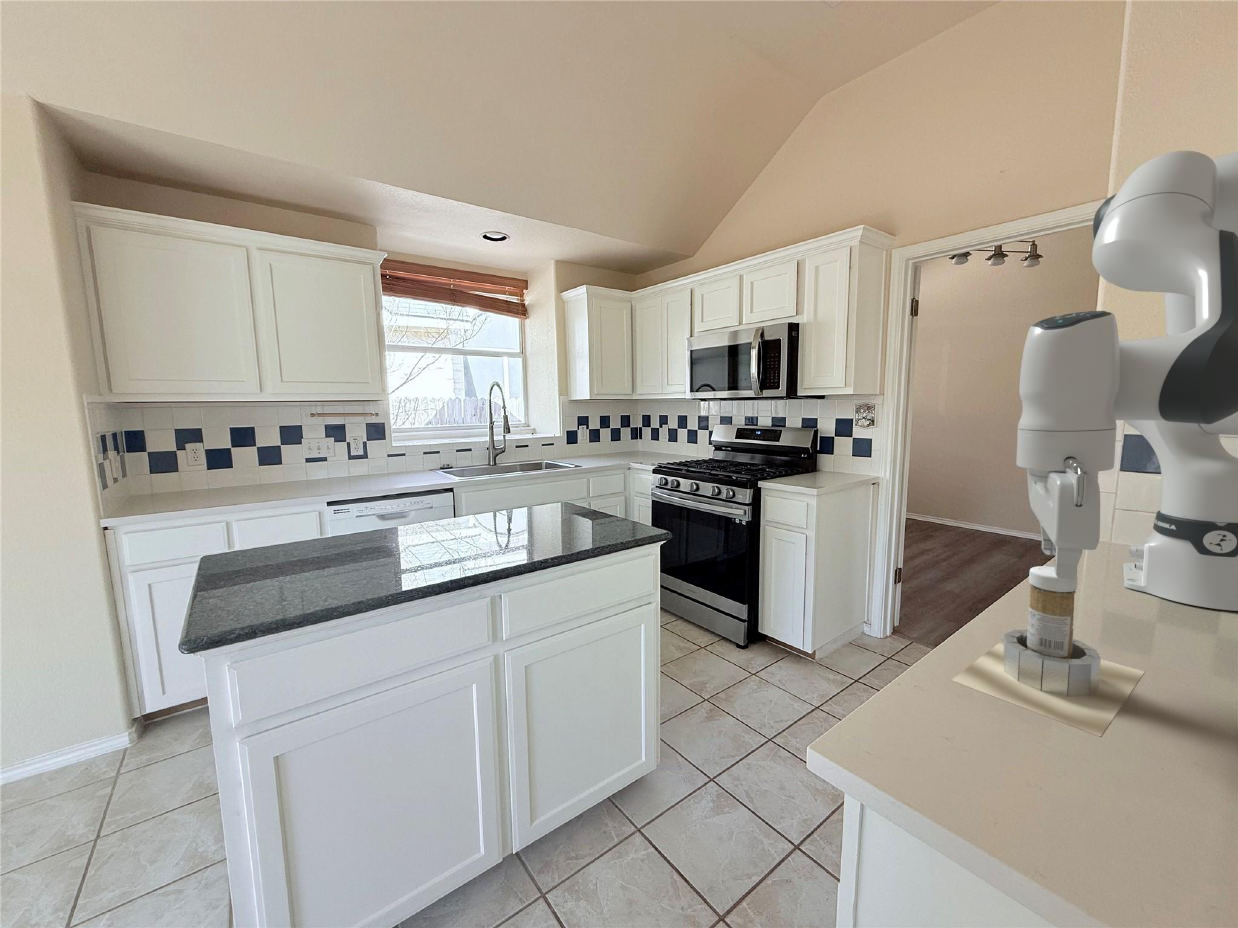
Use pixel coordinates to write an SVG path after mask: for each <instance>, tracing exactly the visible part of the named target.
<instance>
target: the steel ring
mask: <svg viewBox="0 0 1238 928" xmlns="http://www.w3.org/2000/svg"><path fill="white" fill-rule="evenodd" d="M1027 631H1028V629H1013V630H1011V631H1008V632H1006V633H1005V634H1004V635H1003V639H1004V649H1003V667H1004V671H1005V672H1006V673H1007V674H1008V675H1010V676H1011V677H1012V678H1014V679H1015V680H1016V681H1018V682H1020V683H1022V684H1025V685H1027V686H1030V687H1032V688H1035V689H1037V690H1040V691H1043V692H1048V693H1053V694H1058V695H1062V696H1068V697H1074V696H1090V695H1092V694H1093V693H1095V692H1097V691H1098V689H1099V676H1100V663H1101V659H1102V658H1101V656H1100V654H1099V653H1098V651H1097V649H1095V648H1094V647H1092V646H1090V645H1088V644H1087V643H1085V642H1083V641H1081V640H1079V639H1075V638H1073V645H1072V653H1071V659H1060V658H1055V657H1049V656H1044V655H1042V654H1039V653H1036V652H1033V651H1030V650H1028V649H1027Z"/></svg>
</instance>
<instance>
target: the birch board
mask: <svg viewBox="0 0 1238 928" xmlns="http://www.w3.org/2000/svg"><path fill="white" fill-rule="evenodd" d="M1003 649H1004V638H1003V639H1002V640H1000V642H998V643H997V644H996V645H995V646H993V647H992V648H991V649H990V650H988V651H987V652H985V653H984V654H983V655H982V656H980V657H979V658H978V659H976V660H975V661H974V662H973V663H971V664H970V665H968V666H967V667H966V668H965V669H963V670H962V671H960V673H959V674H957V675H956V676H954V677H953V678H952V679H951V680H950V681H951V682H954V683H957V684H959V685H963V686H965V687H967V688H970V689H973V690H975V691H978V692H981V693H983V694H985V695H989V696H991V697H994V698H996V699H1000V700H1002V701H1005V702H1007V703H1010V704H1013V705H1015V706H1017V707H1019V708H1022V709H1025V710H1028V711H1031V712H1033V713H1036V714H1038V715H1041V716H1043V717H1047V718H1049V719H1051V720H1054V721H1057V722H1060V723H1062V724H1065V725H1067V726H1070V727H1073V728H1076V729H1078V730H1081V731H1084V732H1086V733H1089V734H1091V735H1094V736H1097V737H1100V738H1102V736H1103V735H1104V733H1105V731H1106V730H1107V728H1108V727H1109V726H1110V725H1111V722H1112V721H1113V719H1114V718H1115V716H1117V713H1118V712H1119V711H1120V710H1121V708H1122V706H1123V705H1124V703H1125V702H1126V701H1127V699H1128V697H1129V696H1130V694H1131V693H1132V691H1134V689H1135V687H1136V686H1137V684H1138V683H1139V681H1140V680H1141V678H1142V677H1143V675H1144V674H1145V671H1143V670H1139V669H1137V668H1133V667H1130V666H1126V665H1123V664H1122V665H1121V664H1119V663H1116V662H1112V661H1109V660H1105V659H1102V658H1101V663H1100V676H1099V689H1098V691H1097V692H1095V693H1093V694H1092V695H1090V696H1074V697H1068V696H1062V695H1058V694H1053V693H1048V692H1043V691H1040V690H1037V689H1035V688H1032V687H1030V686H1027V685H1025V684H1022V683H1020V682H1018V681H1016V680H1015V679H1014V678H1012V677H1011V676H1010V675H1008V674H1007V673H1006V672H1005V671H1004V667H1003Z"/></svg>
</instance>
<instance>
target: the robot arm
mask: <svg viewBox="0 0 1238 928" xmlns="http://www.w3.org/2000/svg"><path fill="white" fill-rule="evenodd" d="M1092 237H1093V239H1094V241H1093V244H1092V245H1093V246H1092V251H1091V261H1092V265H1093V267H1094V269H1095V271H1096V272H1097V274H1098V275H1100V277H1101V278H1103V280H1105V281H1106V282H1108V283H1109V284H1111V285H1113V286H1116V287H1119V288H1122V289H1124V290H1128V291H1133V292H1142V293H1143V292H1146V293H1148V292H1150V293H1151V292H1152V293H1163V297H1164V317H1165V321H1164V322H1165V333H1166V335H1167V336H1158V337H1149V338H1136V339H1126V340H1119V331H1118V325H1117V319H1116V316H1115V314H1114V313H1113V312H1110V311H1107V310H1090V311H1089V310H1088V311H1081V312H1080V311H1079V312H1073V313H1067V314H1063V315H1058V316H1056V315H1055V316H1052V317H1051V316H1050V317H1046V318H1044V319H1041V320H1039V321H1037V322H1035V323H1034V324H1032V325H1030V327H1029V329H1028V332H1027V335H1026V339H1025V343H1024V346H1023V352H1022V356H1021V364H1020V373H1019V374H1020V376H1019V385H1018V386H1019V389H1018V391H1019V392H1018V393H1019V397H1020V400H1021V404H1022V411H1021V416H1020V418H1019V421H1018V423H1017V424H1018V425H1017V434H1016V435H1017V439H1016V440H1017V441H1016V457H1015V458H1016V460H1015V463H1016V464H1015V465H1016V466H1017V467H1019V468H1022V469H1026V476H1027V490H1028V499H1029V504H1030V509H1031V510H1032V512H1033V514H1034V515H1035V517H1036V518H1037V520H1038V521H1039V525H1040V527H1039V528H1040V533H1041V550H1042V552H1043V553H1044V554H1045V555H1046V556H1055V559H1054V566H1053V567H1055V568H1054V571H1055V574H1056V576H1057V577H1058V578H1060V579H1070V580H1073V579H1076V577H1077V578H1078V567H1079V563H1080V560H1081V557H1082V554H1083V550H1088V551H1094V550H1096V549H1097V548H1098V546H1099V542H1100V537H1101V488H1100V484H1099V472H1105V471H1111V470H1113V469H1114V468H1115V456H1116V440H1117V427H1118V425H1117V421H1124V423H1125V424H1127V425H1128V426H1130V427H1132V429H1134V430H1136V431H1137V432H1138V433H1139V434H1141V435H1142V437H1144V439H1146V441H1147V442H1148V443H1149V445H1150V446H1151V447H1152V449H1153V451H1154V453H1155V455H1156V457H1157V460H1158V463H1159V466H1160V474H1161V481H1160V482H1161V483H1160V484H1161V486H1160V487H1161V489H1160V490H1161V491H1160V492H1161V493H1160V507H1159V510H1158V511H1156V514H1155V517H1154V518H1153V527H1152V529H1153V530H1154V531H1153V532H1152V533H1151V534H1150V535H1148V536H1147V538H1145V539H1144V540H1143V541H1142V542H1141V544H1140V546H1129V551H1128V552H1129V555H1128V556H1129V557H1128V558H1129V559H1134V560H1139V562H1138V561H1137V562H1136V561H1135V562H1124V563H1123V566H1122V573H1123V574H1122V575H1123V577H1122V579H1123V587H1124V588H1127V589H1129V590H1135V591H1138V592H1139V591H1140V592H1143V593H1147V594H1149V595H1154V596H1156V597H1158V598H1161V599H1166V600H1170V601H1173V602H1177V603H1181V604H1186V605H1191V606H1195V607H1196V606H1197V607H1201V608H1202V607H1203V608H1206V609H1207V608H1209V609H1215V610H1223V611H1237V612H1238V457H1236V456H1234V455H1233V454H1231V453H1229V451H1228V450H1226V448H1225V447H1224V446H1223V444H1222V441H1221V439H1220V435H1223V436H1226V435H1227V436H1238V151H1234V152H1231V153H1227V154H1224V155H1220V156H1216V157H1213V158H1212V157H1210V156H1208V155H1207V154H1204V153H1201V152H1198V151H1193V150H1176V151H1171V152H1167V153H1164V154H1161V155H1158V156H1156V157H1153V158H1152V159H1149V160H1148V161H1146V162H1144V163H1143V164H1141V165H1140V166H1138V167H1137V168H1136V169H1135V170H1134V171H1132V173H1131V174H1130V175H1129V176H1128V177H1127V179H1126V180H1125V181H1124V183H1123V184H1122V186H1121V187H1120V188H1119V190H1118V191H1117V192H1116V193H1115V194H1113V195H1111V196H1109V197H1108V198H1106V199H1105V200H1104V201H1103V203H1102V204H1101V205H1100V206H1099V207H1098V208H1097V209H1096V212H1095V213H1094V218H1093V222H1092Z"/></svg>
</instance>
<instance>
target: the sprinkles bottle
mask: <svg viewBox="0 0 1238 928" xmlns="http://www.w3.org/2000/svg"><path fill="white" fill-rule="evenodd" d="M1054 568H1055V566H1043V565H1039V566H1033V567H1031V568H1030V569H1029V572H1028V573H1029V576H1028V583H1029V587H1030V588H1029V589H1030V591H1029V604H1028V618H1027V630H1028V631H1027V649H1028V650H1030V651H1033V652H1036V653H1039V654H1042V655H1044V656H1049V657H1055V658H1060V659H1071V653H1072V645H1073V639H1074V628H1073V626H1074V613H1075V610H1074V609H1075V594H1076V592H1077V589H1078V576H1077V577H1076V579H1073V580H1070V579H1060V578H1058V577H1057V576H1056V574H1055V571H1054Z"/></svg>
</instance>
